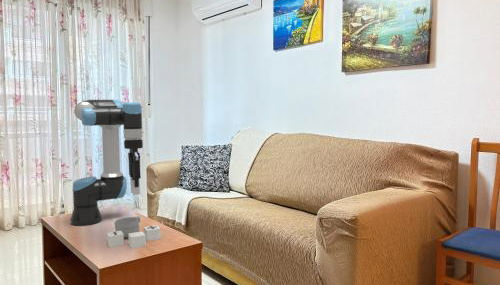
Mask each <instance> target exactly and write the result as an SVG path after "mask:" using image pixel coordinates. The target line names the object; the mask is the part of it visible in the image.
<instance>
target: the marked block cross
mask: <svg viewBox="0 0 500 285" xmlns="http://www.w3.org/2000/svg"><path fill="white" fill-rule="evenodd" d="M143 233H144V234H145V235H146V242H151V241H156V240H161V237H162V236H161V235H162V234H161V233H162V232H161V228H160V227H159V225H157V224H155V225H148V226H144V227H143Z"/></svg>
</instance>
